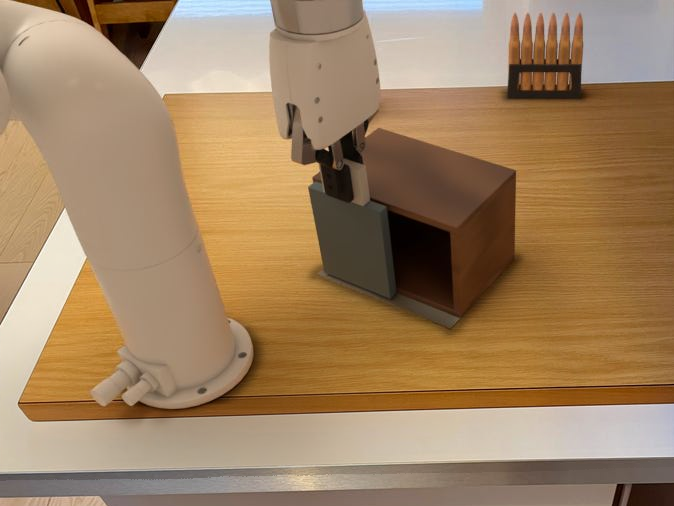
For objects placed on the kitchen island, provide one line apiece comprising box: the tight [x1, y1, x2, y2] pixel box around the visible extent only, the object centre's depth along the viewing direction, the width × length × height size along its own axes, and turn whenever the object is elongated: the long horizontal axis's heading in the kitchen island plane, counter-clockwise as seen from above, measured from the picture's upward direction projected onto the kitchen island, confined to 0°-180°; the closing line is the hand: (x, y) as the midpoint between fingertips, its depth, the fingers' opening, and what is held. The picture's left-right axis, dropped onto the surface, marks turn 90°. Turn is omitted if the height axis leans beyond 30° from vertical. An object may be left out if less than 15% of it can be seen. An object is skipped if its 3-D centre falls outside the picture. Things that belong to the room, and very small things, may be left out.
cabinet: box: [311, 127, 517, 330], centre depth 88 cm, size 14×18×12 cm
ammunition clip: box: [506, 12, 584, 100], centre depth 116 cm, size 11×2×12 cm, turn 88°
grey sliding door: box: [307, 158, 397, 299], centre depth 84 cm, size 1×9×15 cm, turn 59°
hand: (345, 192), depth 81 cm, fingers closed
